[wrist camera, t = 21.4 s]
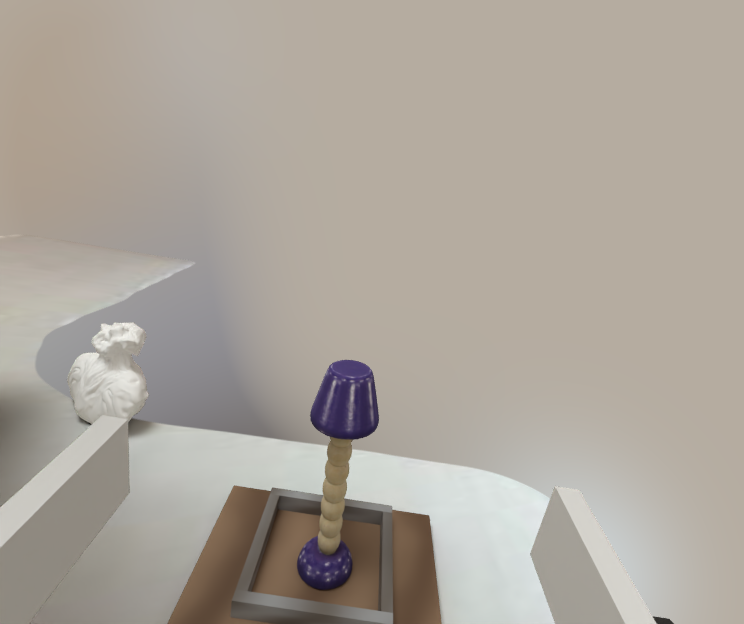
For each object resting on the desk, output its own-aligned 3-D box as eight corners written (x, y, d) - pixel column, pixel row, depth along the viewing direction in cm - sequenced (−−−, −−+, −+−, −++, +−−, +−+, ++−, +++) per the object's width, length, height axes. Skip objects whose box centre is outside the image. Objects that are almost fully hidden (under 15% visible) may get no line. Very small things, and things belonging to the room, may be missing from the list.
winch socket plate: (165, 640, 29) (166, 609, 28) (233, 496, 41) (234, 471, 40) (442, 681, 29) (451, 652, 28) (426, 525, 41) (432, 502, 40)
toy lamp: (279, 568, 33) (302, 368, 28) (313, 527, 37) (340, 346, 32) (333, 601, 32) (369, 395, 26) (364, 555, 36) (400, 368, 30)
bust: (144, 450, 48) (202, 358, 51) (82, 437, 42) (152, 332, 44) (86, 405, 54) (141, 325, 57) (24, 388, 47) (89, 298, 50)
